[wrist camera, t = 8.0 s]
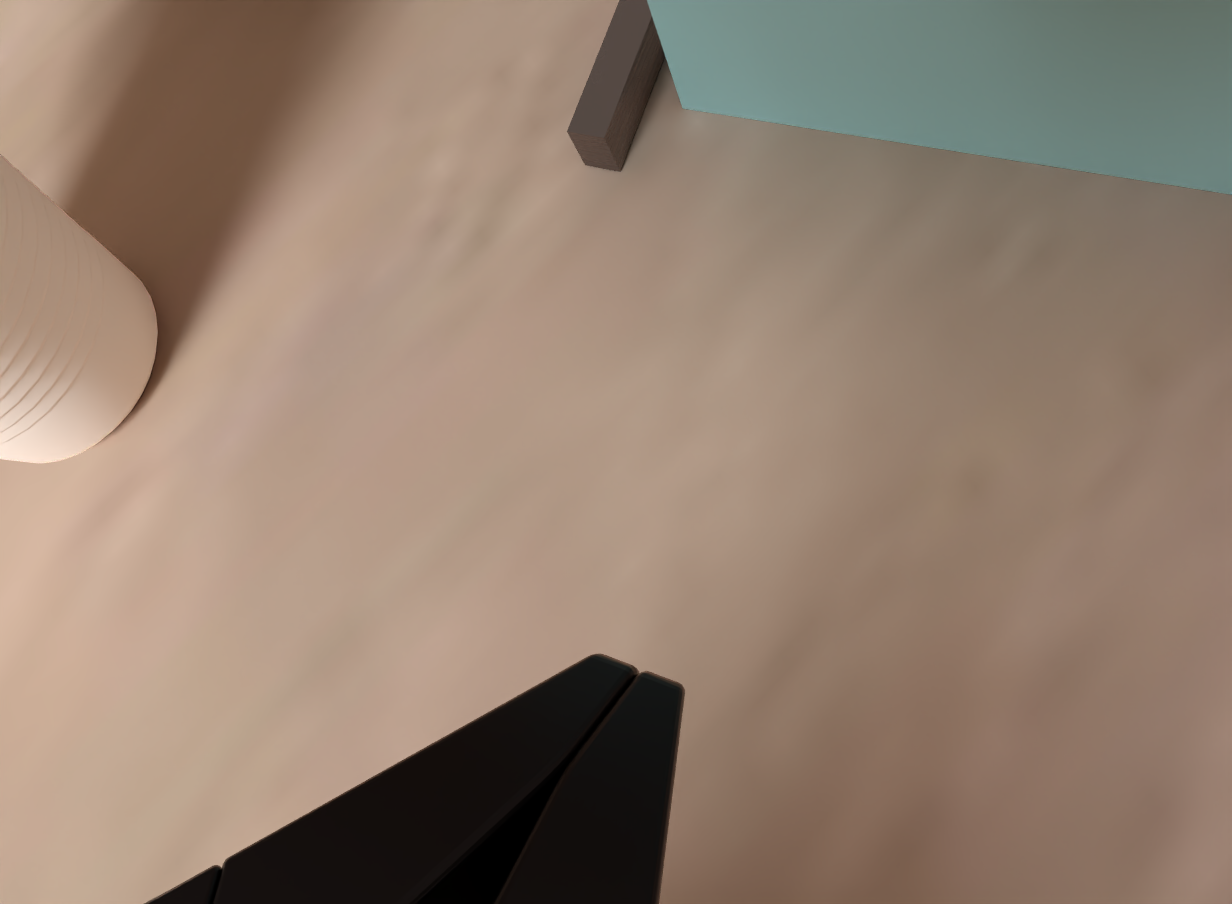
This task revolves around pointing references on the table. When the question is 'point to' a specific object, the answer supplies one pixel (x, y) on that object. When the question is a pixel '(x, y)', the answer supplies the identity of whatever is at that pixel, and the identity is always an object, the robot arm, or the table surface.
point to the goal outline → (617, 87)
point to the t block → (976, 76)
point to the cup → (64, 330)
